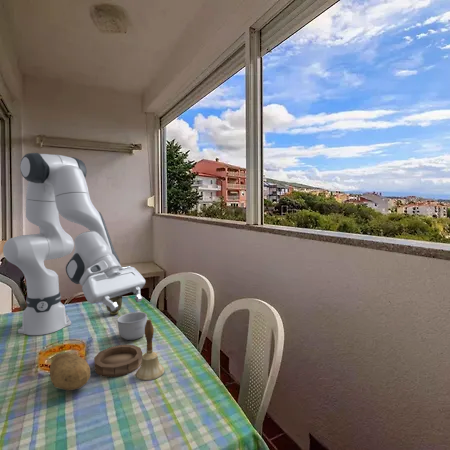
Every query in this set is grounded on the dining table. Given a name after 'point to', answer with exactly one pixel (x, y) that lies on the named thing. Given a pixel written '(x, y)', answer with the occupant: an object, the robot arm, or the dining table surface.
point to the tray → (118, 360)
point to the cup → (119, 303)
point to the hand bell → (149, 358)
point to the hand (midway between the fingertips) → (128, 304)
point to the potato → (69, 371)
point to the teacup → (132, 325)
